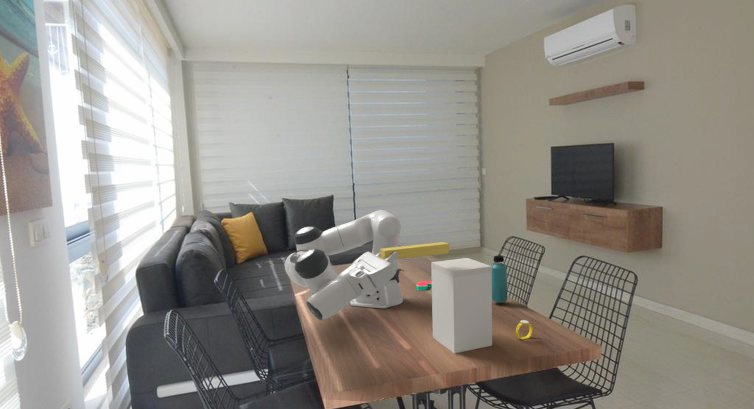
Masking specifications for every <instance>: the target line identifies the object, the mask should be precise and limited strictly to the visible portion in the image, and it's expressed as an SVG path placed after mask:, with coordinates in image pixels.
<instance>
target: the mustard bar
mask: <svg viewBox="0 0 754 409" xmlns="http://www.w3.org/2000/svg"><path fill="white" fill-rule="evenodd" d="M394 251H395V252H397V253H398V255H399V257H398V258H397V259H398V260H400V259H401V260H403V259H411V258H419V257H421V258H422V257H428V256H435V255H436V256H437V255H445V254H450V243H448V242H445V241H441V242H440V241H439V242H432V243H423V244H422V243H421V244H413V245H411V244H410V245H404V246H398V247H392V248H383V249H380V258H382V259H384V260H385V259H386V258H388V257H389V256H390V254H391V253H393V252H394Z"/></svg>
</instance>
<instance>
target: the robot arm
mask: <svg viewBox="0 0 754 409" xmlns="http://www.w3.org/2000/svg"><path fill="white" fill-rule="evenodd" d="M401 229H402V226H401V221H400V219H399V218H398V216H396V215H395V214H393V213H391V212H389V211H388V210H384V209H379V210H376V211H373V212H371V213H368V214H365V215H363V216H361V217H358V218H357V219H354V220H351V221H349V222H345V223H343V224H340V225H336V226H333V227H331V228H328V229H326V230H324V231H322V230H320V229H318V227H315V226H305V227H302V228H300V229H299V230H297V231H296V232H295V233H294V235H293V240H294V244H295V248H296V252H293V253H290V254H289V255H288V256H287V257H286V259H285V262H284V269H285V272H286V274H287V276H288V277H289V279H290V280H291V281H292V282H294V283H295V284H296V285H299V286H301V287H307V289H308V290H309V291H310V292H311V296H310V297H308V299H307V300H306V306H307V308H308V309H309V311H310V312H311V313H312V315H313V316H314V317H315V318H316V319H318V320H319V321H325V320H327V319H328V318H329V319H330V317H332V316H335V315H336V314H337V313H339V312H340V311H343V309H344V308H346V307H347V306H348V305H349V303H350V305H351V306H353V307H363V308H364V307H365V308H372V309H373V308H374V309H375V308H376V309H387V308H390V307H394V306H398V305H401V304H402V303H403V302H404V298H403V295H402V292H401V286H400V281H401V273H400V268H399V259H397V258H398V257H399V255H398V253H397V252H395V251H394V252H393V253H391V254H390V256H389V257H388V258H386V259H385V260H384V259H382V258H380V249H383V248H392V247H399V245H400V234H401ZM371 241H373V242H372V251H366V252H364V253H363V254H362V255H360V256H359V257H357V258H356V259H355V260H354V261H353V262H352V263H351V264H350V265H349V266H347V268H345V269H344V270H342V271H341V272H339V274H338V273H337V272H336V270H335V268H334V267H333V266H332V264H331V261H330V257H329V256H333V255H337V254H338V255H339V254H342V253H345V252H347V251H350V250H353V249H357V248H359V247H362V246H364V245H365V244H366V243H368V242H371Z"/></svg>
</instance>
